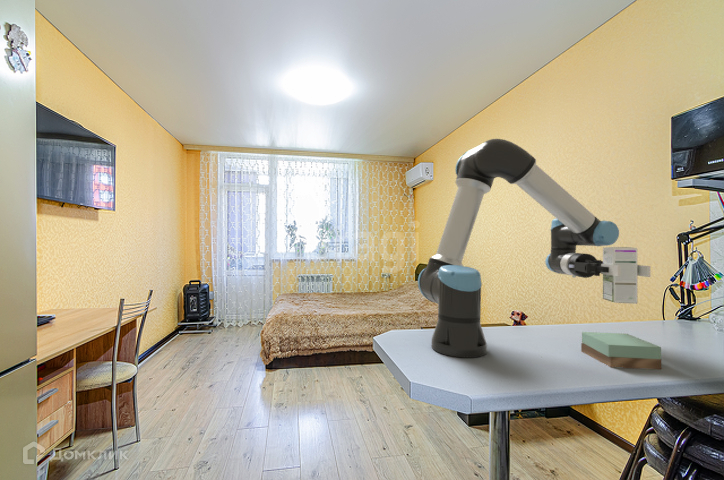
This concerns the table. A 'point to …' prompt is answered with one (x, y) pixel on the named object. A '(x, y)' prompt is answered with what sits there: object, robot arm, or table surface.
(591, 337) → the top slab
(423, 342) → the table surface
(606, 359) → the bottom slab
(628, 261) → the syrup box
